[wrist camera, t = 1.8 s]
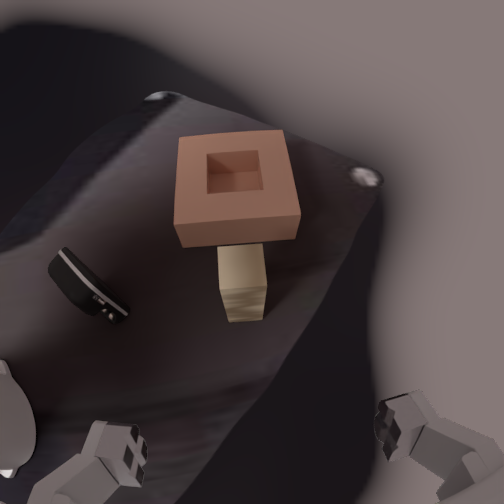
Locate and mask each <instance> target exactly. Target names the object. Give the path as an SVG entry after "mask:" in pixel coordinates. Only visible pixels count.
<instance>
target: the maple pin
mask: <svg viewBox="0 0 504 504" xmlns="http://www.w3.org/2000/svg"><path fill="white" fill-rule="evenodd" d="M217 249H218V269H219V288H220V293H221V296H222V300H223V303H224V307H225V310H226V314H227V317H228V321H229V322H242V321H254V320H262V319H263V312H264V305H265V297H266V290H267V280H266V271H265V263H264V254H263V246H262V244H249V245H237V246H224V247H217Z"/></svg>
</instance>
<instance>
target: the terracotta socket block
mask: <svg viewBox="0 0 504 504" xmlns="http://www.w3.org/2000/svg"><path fill="white" fill-rule="evenodd" d="M300 218H301V211H300V206H299V201H298V197H297V192H296V187H295V183H294V178H293V173H292V169H291V164H290V160H289V156H288V151H287V147H286V143H285V138H284V134H283V130H263V131H245V132H230V133H218V134H207V135H197V136H188V137H179V148H178V160H177V173H176V188H175V206H174V227H175V229H176V232H177V234H178V237H179V239H180V242H181V244H182V247H183V248H189V247H201V246H214V245H226V244H238V243H251V242H264V241H277V240H290V239H295V237H296V234H297V230H298V226H299V222H300Z"/></svg>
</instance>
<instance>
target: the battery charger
mask: <svg viewBox="0 0 504 504" xmlns="http://www.w3.org/2000/svg"><path fill="white" fill-rule="evenodd" d="M48 273H49V275H50V277H51V278H52V279H53V281H54V282H55V283H56V284H57V286H58V287H59V288H60V289H61V291H62V292H63V293H64V294H65V295H66V297H67V298H68V299H69V300H70V301H71V302H72V303H73V304H74V305H75V306H76V307H78V308H79V309H80V310H82V311H83V312H85V313H86V314H88V315H91V316H94V315H96V314H98V313H99V312H101V313H102V314H103V315H104V316H105V317H106V318H107V319H108V320H109V321H110V322H111V323H114V324H116V323H118V322H120V321H121V320H123V319H124V317H125V316H127V315H128V313H129V311H130V308H129V307H128V306H127V305H126V304H125V303H124V302H123V301H122V300H121V299H120V298H119V297H118V296H117V295H116V294H115V293H114V292H113V291H112V290H111V289H110V288H109V287H108V286H107V285H106V284H105V283H104V282H103V281H102V280H101V279H99V278H98V277H97V276H96V275H95V274H94V273H93V272H92V271H91V270H90V269H89V268H88V267H87V266H86V265H85V264H83V263H82V262H81V261H80V260H79V259H78V258H77V257H76V256H75V255H74V254H73V253H72V252H71V251H70V250H69V249H68V248H67V247H64V248H63V249H62V250H60V251H59V252H58V255H57V256H56V257H55V258H54V259H53V260H52V261H51V263H50V264H49V266H48Z"/></svg>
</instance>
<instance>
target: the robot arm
mask: <svg viewBox="0 0 504 504" xmlns="http://www.w3.org/2000/svg"><path fill="white" fill-rule="evenodd" d="M378 409H379V411H380V412H379V413H378V414H377V415H376V416H375V420H374V430H375V434H376V437H377V439H378V440H380V441H382V442H383V443H384V444H383V447H382V450H383V452H384V454H385V456H386V459H387V461H388V462H391V461H394V460H398V459H401V458H404V457H407V456H410V458H412V459H413V460H415V461H416V462H418V463H419V464H421V465H422V466H424V467H425V468H427V469H428V470H430V471H431V472H433V473H434V474H436V475H437V476H439V477H440V478H442V479H444V480H445V481H444V482H443V484H442V485H441V486H440V487H439V489H438V490H437V492H436V494H437V496H438V498H439V500H440V502H438V503H436V504H504V454H503V452H502V451H501V449H500V448H499V446H498V445H497V444H496V442H495V441H494V439H492V438H490V437H487V436H485V435H482V434H480V433H478V432H476V431H473V430H471V429H469V428H466V427H464V426H462V425H459V424H457V423H455V422H452V421H450V420H448V419H446V418H442V419H441V418H440V417H439V416H438V414H437V413H436V411H435V410H434V408H433V407H432V405H431V404H430V402H429V401H428V399H427V398H426V397H425V395H424V394H423V392H422V391H421V390H416V391H412V392H409V393H405V394H401V395H398V396H394V397H391V398H387V399H384V400H381V401H380V402H379V405H378ZM139 432H140V430H139V428H138V426H137V425H135V424H125V423H115V422H106V421H98V420H96V421H95V422H94V423H93V424H92V426H91V429H90V431H89V434H88V437H87V439H86V442H85V444H84V447H83V450H82V452H81V454H76V455H75V456H74V457H72V458H71V459H70V460H68V461H67V462H66V463H64V464H63V465H61V466H60V467H59V468H57V469H56V470H55V471H53V472H52V473H50V474H49V475H48V476H46V477H45V478H43V479H42V480H41V481H39V482H38V483H36V484H35V485H34V487H33V490H32V492H31V495H30V497H29V500H28V503H27V504H103V503H104V502H105V501H106V500H107V499H108V498H109V497H110V496H111V495H112V494H113V492H114V491H115V490H116V489H117V488H118V487H119V485H125V486H135V487H142V482H143V477H144V471H143V469H142V468H141V467H142V466H143V465H144V464H145V463H146V461H147V445H146V442H145V440H144V438H142V437H141V436H139ZM35 442H36V427H35V420H34V416H33V412H32V409H31V406H30V404H29V401H28V399H27V397H26V395H25V394H24V392H23V390H22V389H21V388H20V386H19V385H18V384H17V383H16V382H15V380H14V379H13V378H12V376H11V373H10V370H9V368H8V365H7V363H6V362H5V361H4V360H0V474H2V475H3V476H5V477H6V478H13V477H14V476H15V474H16V472H17V469H18V468H19V467H20V466H21V465H23V464H25V463H26V462H27V461H28V460H29V459H30V457H31V456H32V454H33V451H34V448H35ZM0 504H5V503H3V502H1V501H0Z"/></svg>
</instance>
